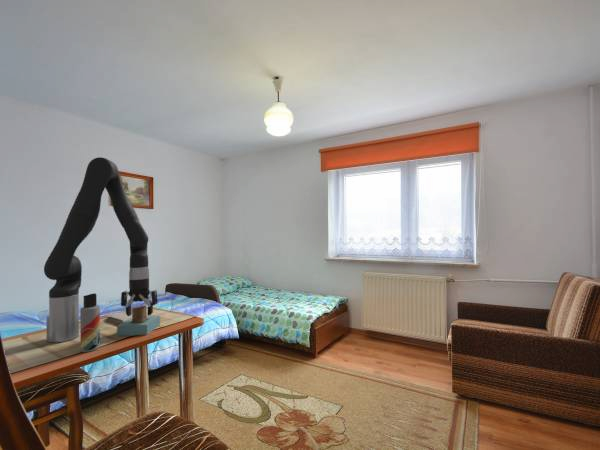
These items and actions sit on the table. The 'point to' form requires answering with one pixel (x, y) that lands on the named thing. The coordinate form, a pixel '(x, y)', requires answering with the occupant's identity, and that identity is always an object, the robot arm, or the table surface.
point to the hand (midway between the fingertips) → (139, 315)
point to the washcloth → (119, 317)
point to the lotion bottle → (90, 324)
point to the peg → (139, 314)
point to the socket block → (138, 326)
